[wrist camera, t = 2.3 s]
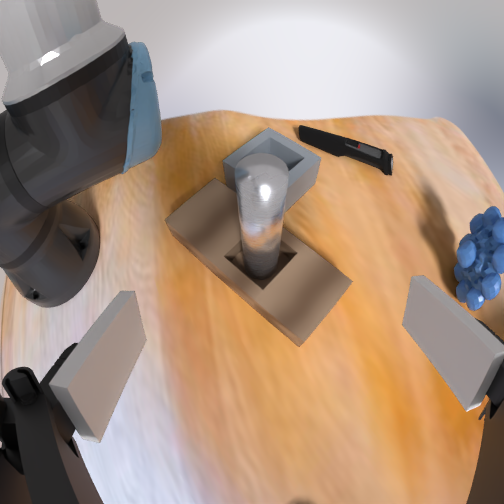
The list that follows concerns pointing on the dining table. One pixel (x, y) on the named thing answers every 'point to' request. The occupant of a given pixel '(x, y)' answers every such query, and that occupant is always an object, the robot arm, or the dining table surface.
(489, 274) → the blue lobed rosette
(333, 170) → the dining table surface
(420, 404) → the dining table surface
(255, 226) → the axle
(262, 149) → the block
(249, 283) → the beam
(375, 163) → the electric trimmer
